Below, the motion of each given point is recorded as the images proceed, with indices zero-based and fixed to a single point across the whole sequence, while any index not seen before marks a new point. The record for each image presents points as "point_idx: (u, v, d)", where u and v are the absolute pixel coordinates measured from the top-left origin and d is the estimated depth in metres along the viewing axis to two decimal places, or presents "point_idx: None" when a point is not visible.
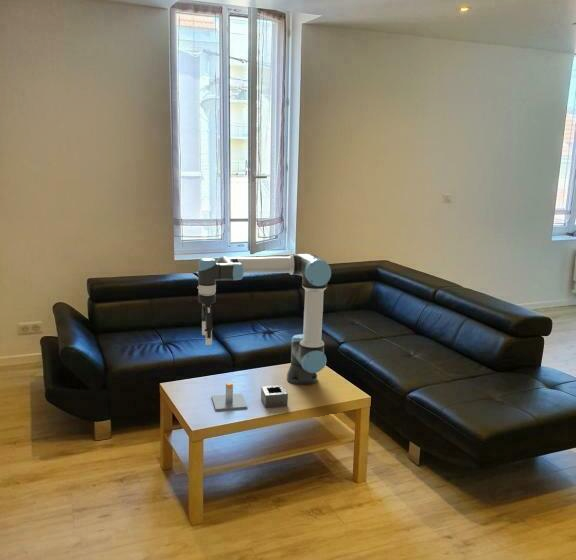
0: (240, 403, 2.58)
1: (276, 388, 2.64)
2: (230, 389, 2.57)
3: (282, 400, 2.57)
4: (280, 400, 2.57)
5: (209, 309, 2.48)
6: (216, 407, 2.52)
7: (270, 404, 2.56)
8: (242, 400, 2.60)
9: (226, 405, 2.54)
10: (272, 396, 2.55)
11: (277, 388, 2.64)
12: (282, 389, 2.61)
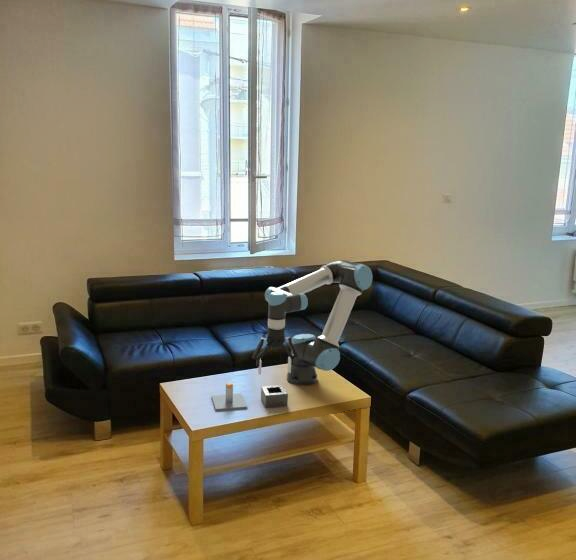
0: (240, 403, 2.58)
1: (276, 388, 2.64)
2: (230, 389, 2.57)
3: (282, 400, 2.57)
4: (280, 400, 2.57)
5: (260, 339, 2.53)
6: (216, 407, 2.52)
7: (270, 404, 2.56)
8: (242, 400, 2.60)
9: (226, 405, 2.54)
10: (272, 396, 2.55)
11: (277, 388, 2.64)
12: (282, 389, 2.61)
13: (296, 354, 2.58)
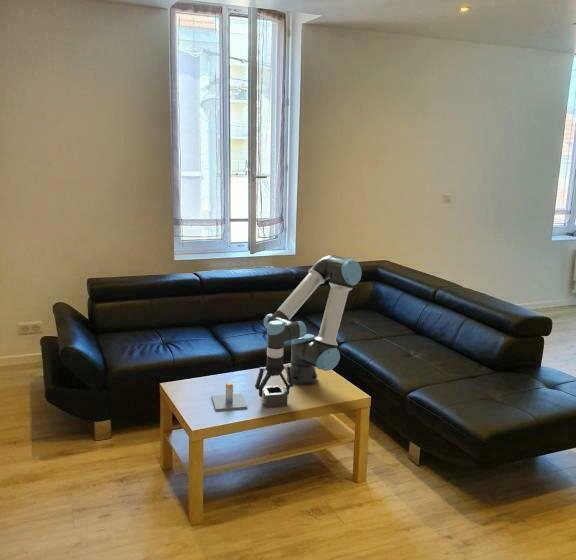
0: (240, 403, 2.58)
1: (276, 388, 2.64)
2: (230, 389, 2.57)
3: (282, 400, 2.57)
4: (280, 400, 2.57)
5: (260, 369, 2.56)
6: (216, 407, 2.52)
7: (270, 404, 2.56)
8: (242, 400, 2.60)
9: (226, 405, 2.54)
10: (272, 396, 2.55)
11: (277, 388, 2.64)
12: (282, 389, 2.61)
13: (292, 384, 2.61)
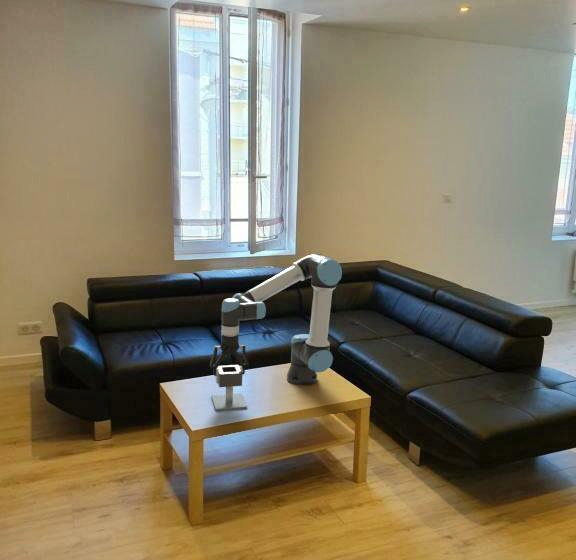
0: (240, 403, 2.58)
1: (231, 368, 2.59)
2: (230, 389, 2.57)
3: (236, 379, 2.52)
4: (234, 379, 2.52)
5: (214, 347, 2.52)
6: (216, 407, 2.52)
7: (224, 383, 2.51)
8: (242, 400, 2.60)
9: (226, 405, 2.54)
10: (226, 375, 2.51)
11: (233, 368, 2.59)
12: (237, 368, 2.57)
13: (248, 363, 2.56)
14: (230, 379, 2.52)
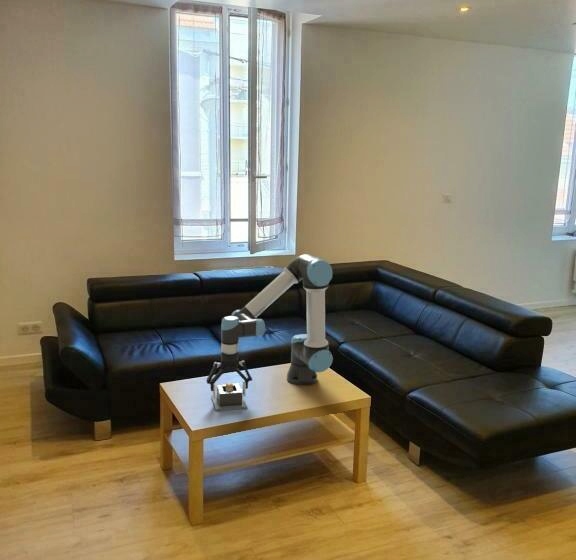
0: None
1: None
2: (230, 389, 2.57)
3: (237, 399, 2.55)
4: (234, 399, 2.54)
5: (214, 364, 2.53)
6: (216, 407, 2.52)
7: (224, 403, 2.54)
8: (242, 400, 2.60)
9: None
10: (226, 394, 2.53)
11: (233, 386, 2.61)
12: (237, 387, 2.59)
13: (250, 378, 2.58)
14: (230, 398, 2.54)
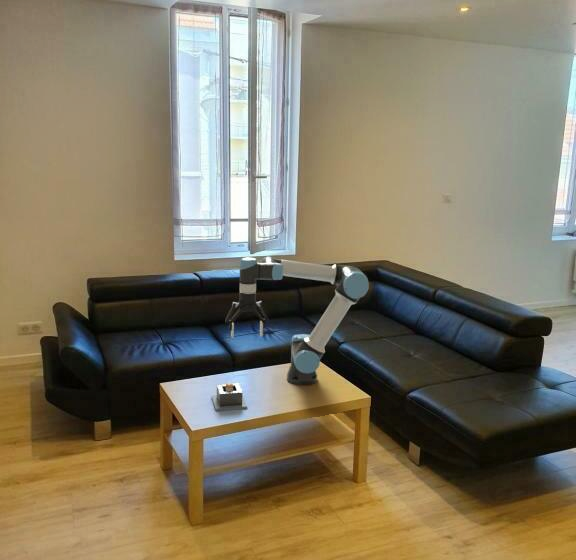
0: None
1: None
2: (230, 389, 2.57)
3: (237, 399, 2.55)
4: (234, 399, 2.54)
5: (233, 303, 2.63)
6: (216, 407, 2.52)
7: (224, 403, 2.54)
8: (242, 400, 2.60)
9: None
10: (226, 394, 2.53)
11: (233, 386, 2.61)
12: (237, 387, 2.59)
13: (267, 318, 2.68)
14: (230, 398, 2.54)
